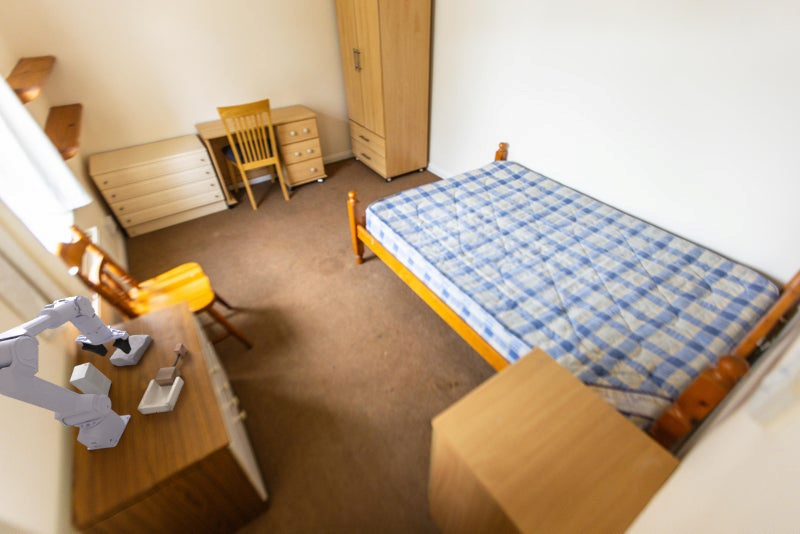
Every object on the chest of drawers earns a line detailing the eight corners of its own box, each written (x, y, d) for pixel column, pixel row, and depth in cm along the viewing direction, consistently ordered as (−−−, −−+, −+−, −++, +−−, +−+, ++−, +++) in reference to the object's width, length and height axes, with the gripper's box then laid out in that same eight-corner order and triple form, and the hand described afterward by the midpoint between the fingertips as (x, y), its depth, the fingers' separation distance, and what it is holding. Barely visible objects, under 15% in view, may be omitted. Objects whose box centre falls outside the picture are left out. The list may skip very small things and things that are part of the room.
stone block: (113, 369, 124) (137, 365, 123) (103, 361, 121) (128, 357, 120) (133, 343, 133) (156, 339, 132) (124, 335, 130) (147, 331, 129)
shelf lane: (172, 410, 110) (167, 405, 107) (143, 414, 109) (137, 408, 107) (184, 382, 117) (179, 376, 115) (156, 385, 117) (151, 379, 114)
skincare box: (97, 386, 117) (74, 366, 109) (112, 381, 118) (90, 361, 110) (93, 401, 113) (68, 382, 105) (108, 396, 114) (84, 377, 106)
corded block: (176, 385, 116) (170, 378, 113) (161, 387, 116) (154, 380, 113) (191, 349, 127) (186, 342, 124) (177, 350, 127) (172, 343, 124)
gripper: (122, 314, 110) (145, 340, 119) (75, 319, 109) (101, 345, 118) (111, 332, 105) (135, 358, 114) (61, 337, 104) (89, 363, 113)
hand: (117, 352), depth 116 cm, fingers open, 7 cm apart
